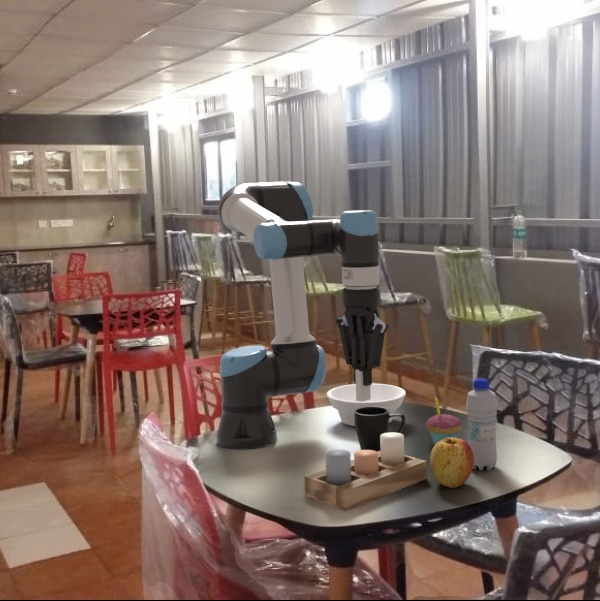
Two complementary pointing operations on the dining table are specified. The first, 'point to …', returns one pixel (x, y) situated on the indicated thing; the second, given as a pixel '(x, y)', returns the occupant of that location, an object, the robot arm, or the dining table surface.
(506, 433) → the dining table surface
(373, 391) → the bowl
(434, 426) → the cupcake
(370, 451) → the peach cylinder
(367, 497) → the wooden peg tray
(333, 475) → the blue-grey cylinder
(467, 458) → the apple
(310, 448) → the dining table surface
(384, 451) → the white cylinder
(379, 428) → the mug
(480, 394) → the bottle
